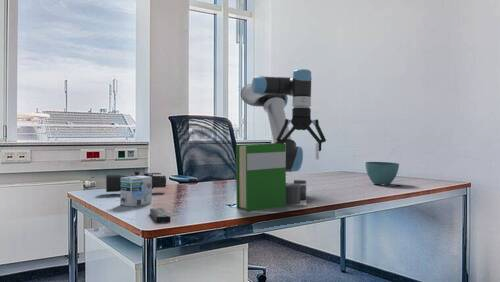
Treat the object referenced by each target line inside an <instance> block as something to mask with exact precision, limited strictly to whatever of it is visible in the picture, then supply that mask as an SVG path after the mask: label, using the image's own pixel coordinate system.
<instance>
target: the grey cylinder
mask: <svg viewBox="0 0 500 282" xmlns="http://www.w3.org/2000/svg"><path fill="white" fill-rule="evenodd" d="M286 204H288V206H289V205H290V206H291V205H292V206H293V204H300V184H296V183H294V182H286Z"/></svg>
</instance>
